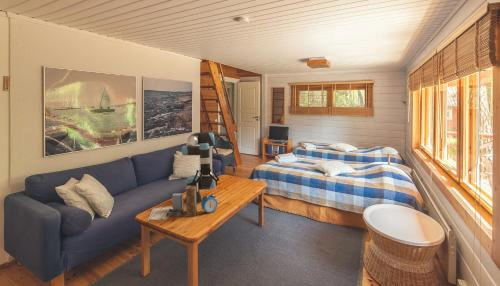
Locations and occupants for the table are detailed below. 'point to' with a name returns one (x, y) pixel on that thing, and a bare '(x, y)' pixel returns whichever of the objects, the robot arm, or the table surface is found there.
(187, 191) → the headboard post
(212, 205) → the alarm clock
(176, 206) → the rail end
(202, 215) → the table surface
